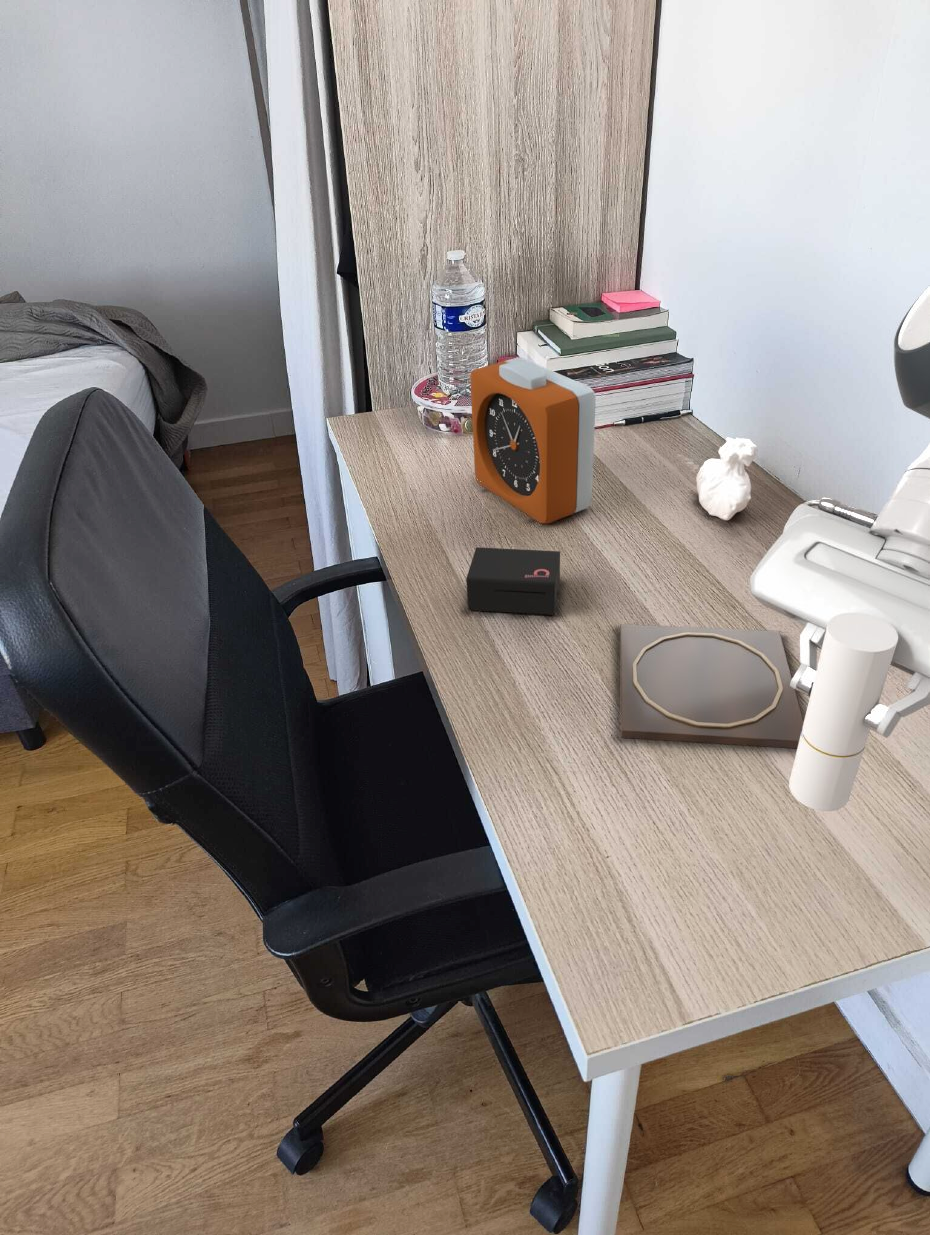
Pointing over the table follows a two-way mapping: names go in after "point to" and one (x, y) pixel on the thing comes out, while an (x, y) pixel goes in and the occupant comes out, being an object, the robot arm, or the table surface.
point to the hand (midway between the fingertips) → (837, 711)
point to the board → (707, 686)
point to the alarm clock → (533, 438)
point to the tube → (841, 708)
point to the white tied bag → (726, 479)
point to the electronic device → (513, 580)
